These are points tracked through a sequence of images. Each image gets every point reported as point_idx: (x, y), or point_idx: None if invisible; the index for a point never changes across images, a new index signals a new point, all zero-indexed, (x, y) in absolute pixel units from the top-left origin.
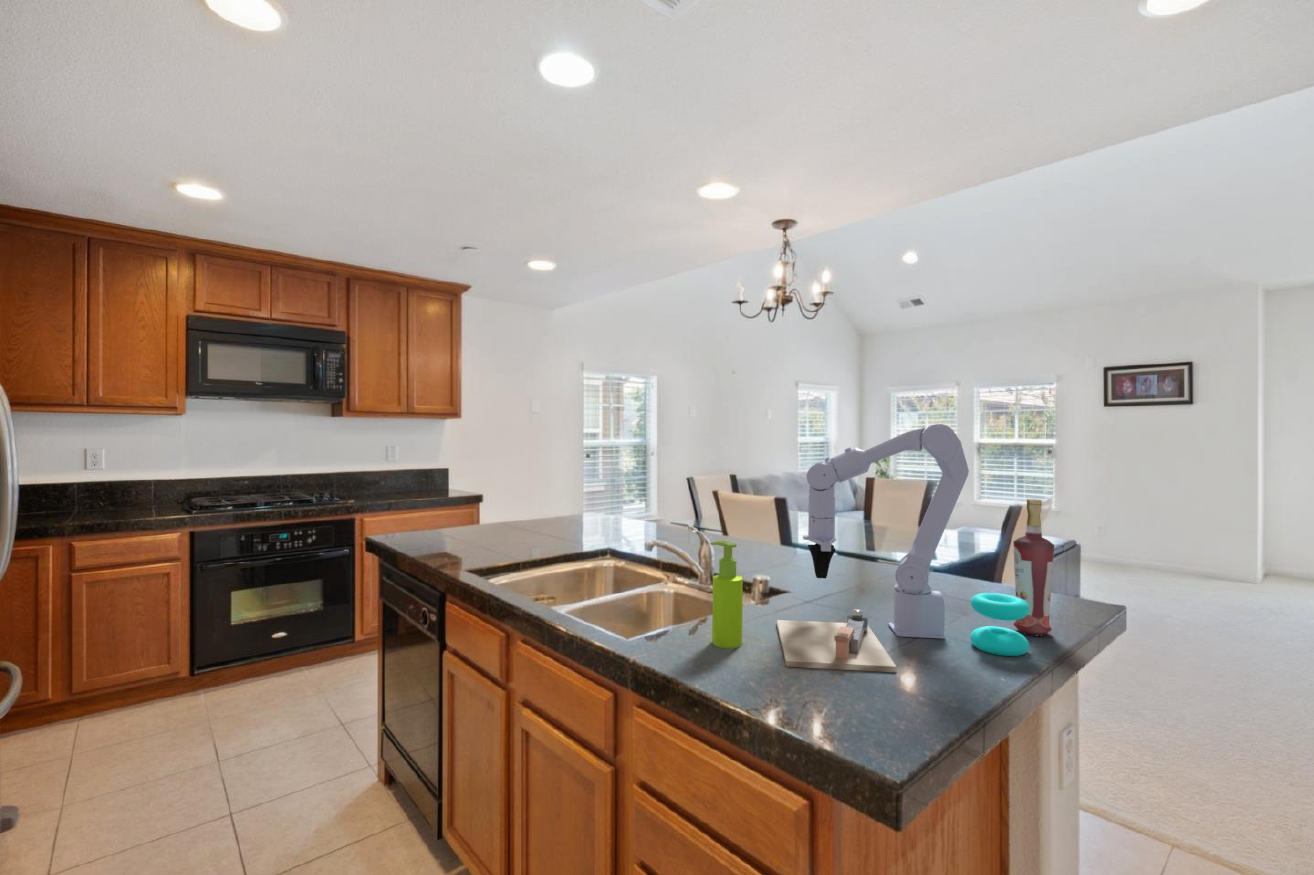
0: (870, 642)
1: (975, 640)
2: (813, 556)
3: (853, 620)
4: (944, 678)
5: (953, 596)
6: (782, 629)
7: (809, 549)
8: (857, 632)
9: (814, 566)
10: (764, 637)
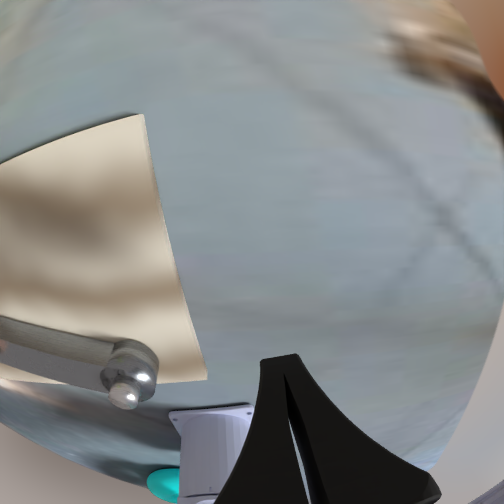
0: None
1: (162, 476)
2: (223, 486)
3: (95, 373)
4: (27, 413)
5: (433, 435)
6: (45, 156)
7: (385, 481)
8: (18, 365)
9: (280, 405)
10: (17, 111)
